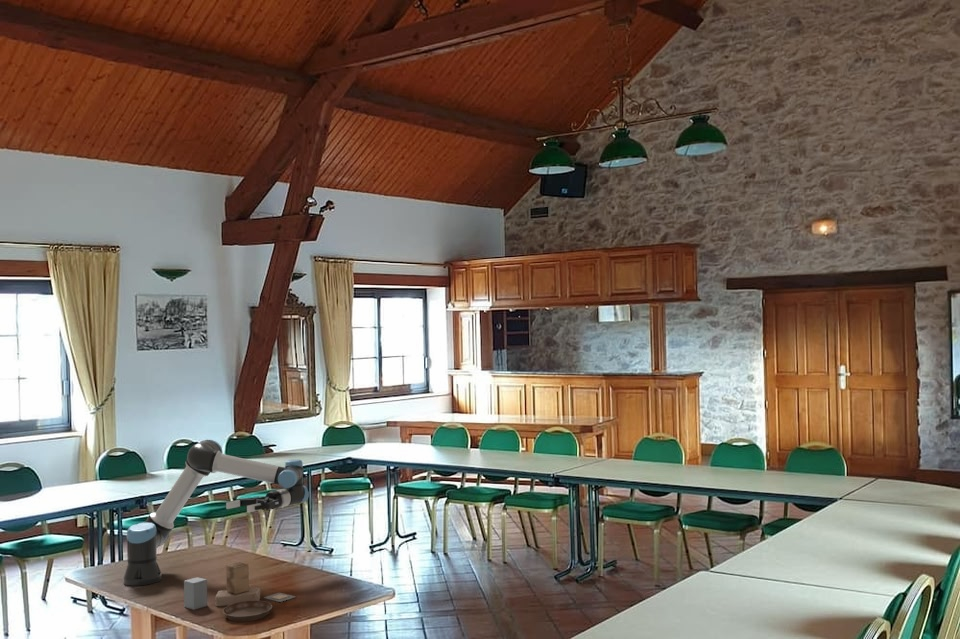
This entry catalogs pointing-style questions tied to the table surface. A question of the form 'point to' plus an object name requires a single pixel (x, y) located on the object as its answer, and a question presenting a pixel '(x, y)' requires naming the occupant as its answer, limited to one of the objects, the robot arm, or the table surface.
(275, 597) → the card
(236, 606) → the plant saucer
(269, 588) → the table surface
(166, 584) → the table surface
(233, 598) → the brick
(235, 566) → the walnut block
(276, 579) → the table surface
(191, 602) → the slate block
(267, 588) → the table surface
